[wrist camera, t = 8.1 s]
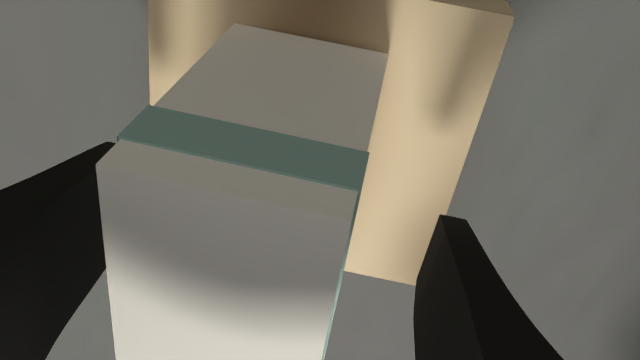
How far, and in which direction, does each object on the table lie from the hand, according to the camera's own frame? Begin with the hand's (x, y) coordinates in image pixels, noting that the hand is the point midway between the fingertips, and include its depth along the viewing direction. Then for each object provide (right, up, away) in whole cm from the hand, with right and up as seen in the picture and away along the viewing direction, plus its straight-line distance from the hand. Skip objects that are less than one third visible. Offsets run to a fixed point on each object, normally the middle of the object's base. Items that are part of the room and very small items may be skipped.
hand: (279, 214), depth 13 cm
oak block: (+1, +3, +5) cm, 6 cm away
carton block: (0, +2, +3) cm, 3 cm away
